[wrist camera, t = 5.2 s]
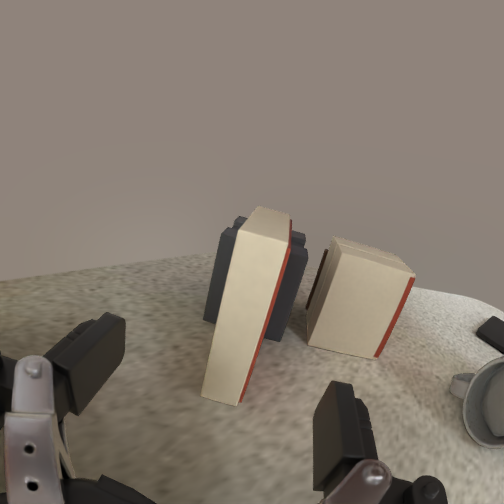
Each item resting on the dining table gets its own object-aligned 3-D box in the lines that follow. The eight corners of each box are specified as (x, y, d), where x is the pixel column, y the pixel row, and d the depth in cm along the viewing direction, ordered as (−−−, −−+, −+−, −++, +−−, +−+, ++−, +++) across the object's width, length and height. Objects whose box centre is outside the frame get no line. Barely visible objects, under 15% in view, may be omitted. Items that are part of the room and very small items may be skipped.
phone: (476, 329, 35) (493, 315, 44) (473, 334, 36) (491, 318, 44) (510, 352, 30) (520, 332, 38) (508, 357, 30) (518, 336, 38)
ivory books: (362, 320, 33) (391, 249, 30) (376, 360, 26) (417, 274, 23) (305, 306, 34) (330, 230, 31) (307, 345, 26) (341, 252, 23)
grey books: (284, 299, 34) (304, 232, 32) (280, 342, 26) (308, 257, 23) (224, 282, 35) (240, 214, 32) (202, 320, 26) (221, 233, 24)
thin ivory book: (255, 341, 25) (293, 215, 22) (239, 408, 17) (292, 244, 14) (225, 333, 25) (258, 205, 22) (199, 396, 17) (238, 228, 14)
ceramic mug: (526, 435, 15) (571, 370, 13) (495, 467, 12) (557, 390, 10) (468, 379, 24) (502, 318, 22) (427, 393, 22) (469, 320, 20)
